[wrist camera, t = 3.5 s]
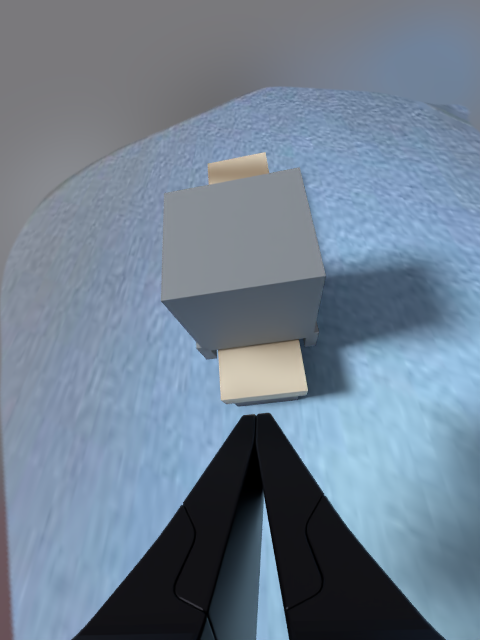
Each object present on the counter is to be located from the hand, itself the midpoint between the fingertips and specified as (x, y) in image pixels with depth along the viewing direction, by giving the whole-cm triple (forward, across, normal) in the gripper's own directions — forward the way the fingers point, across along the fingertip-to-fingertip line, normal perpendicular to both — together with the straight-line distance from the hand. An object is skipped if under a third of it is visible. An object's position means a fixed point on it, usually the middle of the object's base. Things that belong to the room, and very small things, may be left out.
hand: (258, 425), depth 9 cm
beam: (+16, 0, -1) cm, 16 cm away
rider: (+12, 0, +1) cm, 12 cm away
